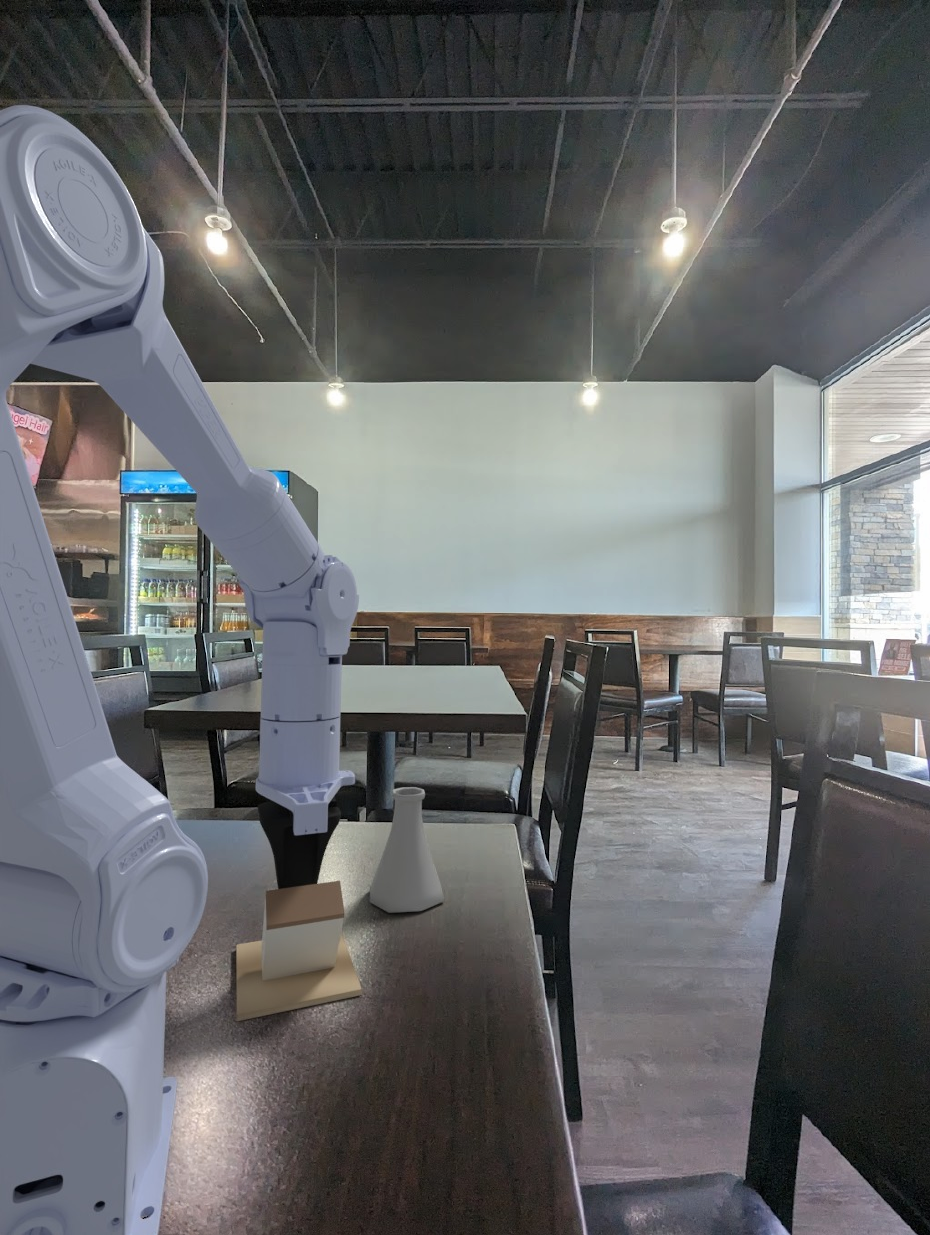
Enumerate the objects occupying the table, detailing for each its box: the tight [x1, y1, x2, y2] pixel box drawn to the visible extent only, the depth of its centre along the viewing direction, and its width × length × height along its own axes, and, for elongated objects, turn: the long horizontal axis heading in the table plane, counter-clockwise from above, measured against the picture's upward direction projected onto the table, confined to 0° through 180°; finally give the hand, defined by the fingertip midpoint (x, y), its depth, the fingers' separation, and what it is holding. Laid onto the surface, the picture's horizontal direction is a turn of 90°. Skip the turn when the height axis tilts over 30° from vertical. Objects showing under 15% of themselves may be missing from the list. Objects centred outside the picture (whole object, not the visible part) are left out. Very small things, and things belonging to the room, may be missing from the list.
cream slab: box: [261, 880, 346, 981], centre depth 41 cm, size 2×5×6 cm
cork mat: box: [235, 931, 363, 1022], centre depth 43 cm, size 9×8×1 cm
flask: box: [369, 786, 445, 914], centre depth 55 cm, size 7×7×10 cm
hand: (296, 903), depth 43 cm, fingers closed
